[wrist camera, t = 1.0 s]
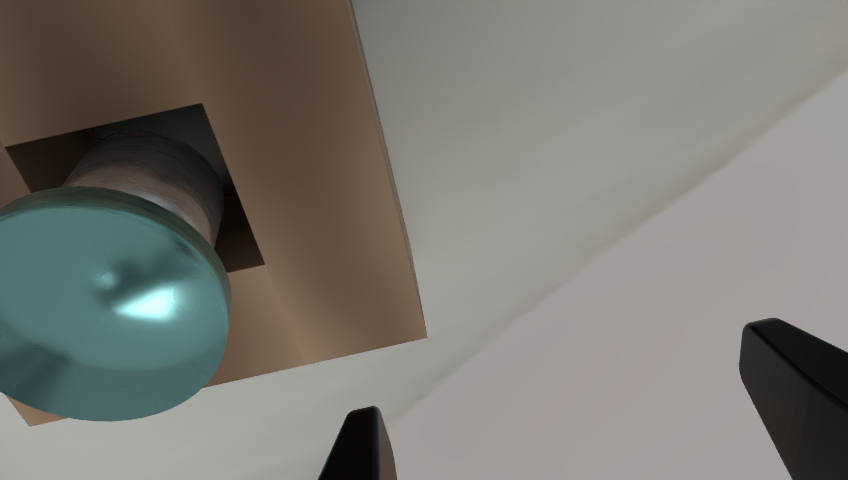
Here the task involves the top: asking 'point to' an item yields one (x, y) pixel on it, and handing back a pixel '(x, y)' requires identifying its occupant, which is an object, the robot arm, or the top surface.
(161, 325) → the plunger teal
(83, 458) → the top surface
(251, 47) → the walnut block
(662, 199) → the top surface
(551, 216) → the top surface
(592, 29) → the top surface
